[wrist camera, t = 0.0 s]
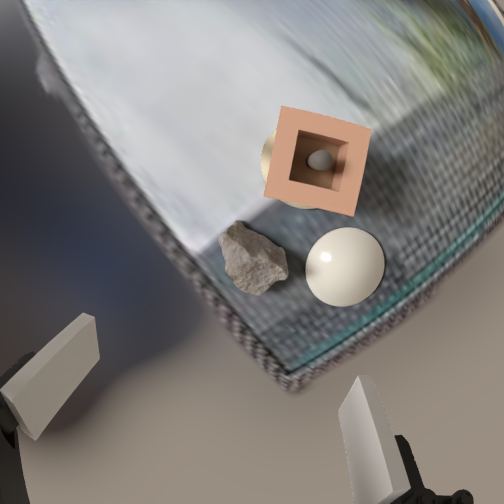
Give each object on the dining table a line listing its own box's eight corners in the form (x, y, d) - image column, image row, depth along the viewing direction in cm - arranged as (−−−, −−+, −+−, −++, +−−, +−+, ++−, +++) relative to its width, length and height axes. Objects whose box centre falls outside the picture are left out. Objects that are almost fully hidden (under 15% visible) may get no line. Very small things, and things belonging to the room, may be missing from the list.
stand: (270, 112, 34) (268, 83, 21) (356, 133, 34) (393, 117, 21) (253, 197, 37) (243, 211, 25) (338, 216, 37) (368, 238, 25)
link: (280, 114, 27) (281, 105, 24) (359, 133, 27) (371, 129, 23) (264, 193, 30) (263, 196, 26) (343, 210, 30) (353, 216, 26)
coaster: (316, 218, 37) (317, 219, 37) (392, 237, 37) (394, 238, 37) (296, 297, 41) (296, 298, 40) (368, 309, 41) (369, 311, 40)
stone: (254, 295, 41) (250, 313, 36) (206, 248, 40) (194, 261, 35) (294, 259, 39) (297, 273, 34) (245, 209, 38) (239, 215, 32)
